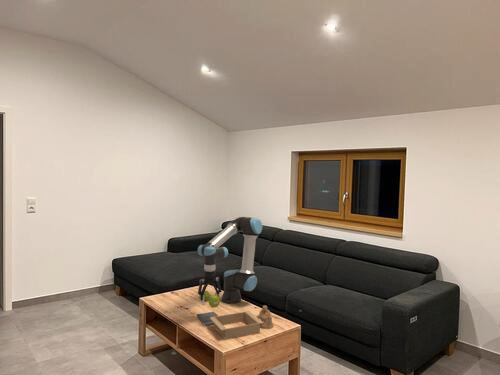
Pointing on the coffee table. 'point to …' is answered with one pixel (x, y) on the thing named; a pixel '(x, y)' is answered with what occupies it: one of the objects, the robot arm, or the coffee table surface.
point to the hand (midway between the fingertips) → (209, 303)
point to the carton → (234, 318)
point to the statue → (265, 318)
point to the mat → (206, 318)
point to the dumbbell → (211, 299)
